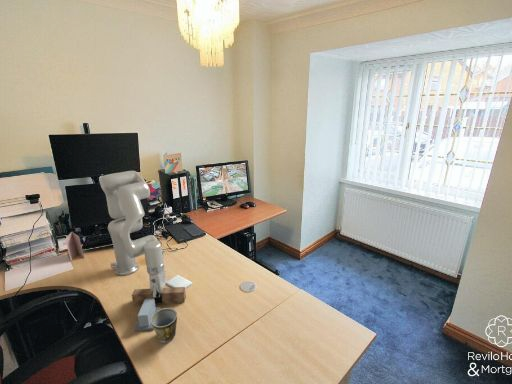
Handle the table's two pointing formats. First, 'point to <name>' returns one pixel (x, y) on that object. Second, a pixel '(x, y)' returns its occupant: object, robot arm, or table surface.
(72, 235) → the greeting card
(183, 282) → the hard drive
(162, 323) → the ceramic cup
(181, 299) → the walnut batten
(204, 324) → the table surface
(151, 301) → the ridge block
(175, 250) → the table surface
